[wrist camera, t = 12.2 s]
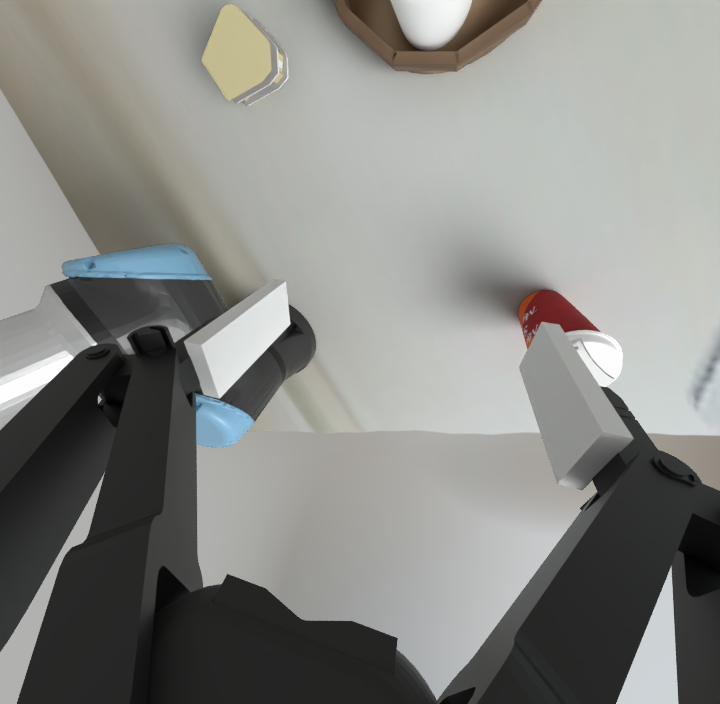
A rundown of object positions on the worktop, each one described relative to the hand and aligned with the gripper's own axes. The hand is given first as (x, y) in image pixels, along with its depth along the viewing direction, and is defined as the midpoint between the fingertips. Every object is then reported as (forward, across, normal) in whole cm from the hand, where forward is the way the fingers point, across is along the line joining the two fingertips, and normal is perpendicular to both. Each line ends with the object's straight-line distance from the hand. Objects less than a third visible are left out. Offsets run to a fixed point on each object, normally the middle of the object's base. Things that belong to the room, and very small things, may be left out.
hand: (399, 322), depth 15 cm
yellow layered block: (+27, +21, -14) cm, 37 cm away
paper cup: (+27, -17, +9) cm, 33 cm away
